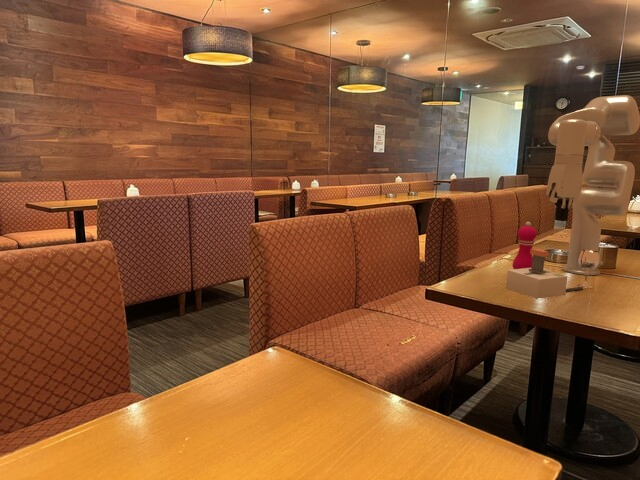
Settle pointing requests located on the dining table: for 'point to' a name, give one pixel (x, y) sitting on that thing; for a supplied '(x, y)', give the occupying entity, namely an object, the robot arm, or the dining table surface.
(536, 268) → the breaker handle
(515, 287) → the box
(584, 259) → the wineglass
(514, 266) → the pepper mill
